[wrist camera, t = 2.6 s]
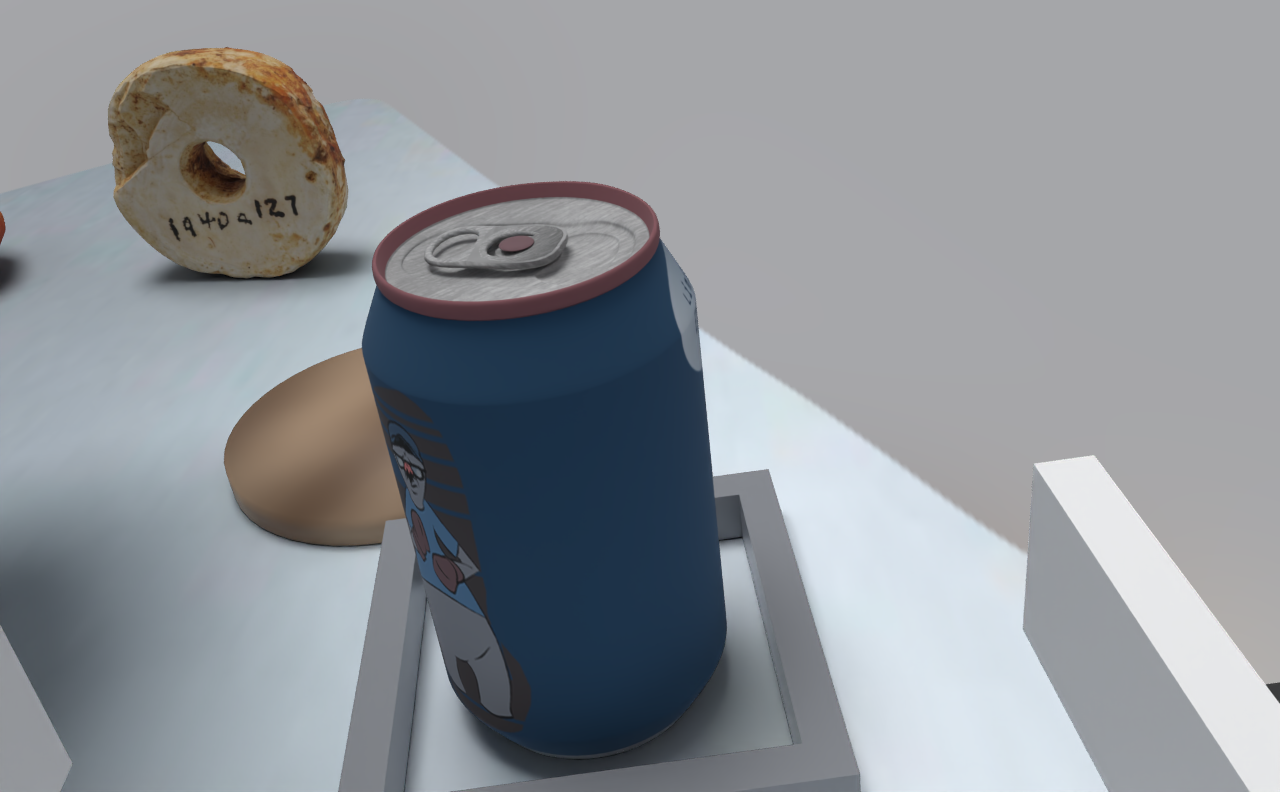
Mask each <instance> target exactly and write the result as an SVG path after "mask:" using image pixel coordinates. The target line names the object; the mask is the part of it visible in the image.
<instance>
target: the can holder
mask: <svg viewBox="0 0 1280 792" xmlns="http://www.w3.org/2000/svg"><path fill="white" fill-rule="evenodd" d="M713 485H714V495H715V506H716V516H717V527H718V537H719V540H722V539H729V538H737V537H743V541H744V545H745V549H746V553H747V557H748V561H749V565H750V570H751V574H752V578H753V582H754V586H755V590H756V594H757V598H758V602H759V606H760V610H761V614H762V618H763V622H764V627H765V631H766V635H767V639H768V643H769V647H770V651H771V655H772V659H773V663H774V667H775V671H776V675H777V679H778V684H779V688H780V692H781V696H782V700H783V704H784V708H785V712H786V716H787V720H788V724H789V728H790V732H791V737H792V741H793V745H787V746H780V747H773V748H765V749H758V750H751V751H744V752H736V753H729V754H722V755H714V756H707V757H700V758H693V759H685V760H678V761H671V762H663V763H656V764H649V765H642V766H634V767H627V768H620V769H613V770H605V771H598V772H591V773H583V774H576V775H569V776H562V777H554V778H547V779H540V780H532V781H525V782H518V783H511V784H503V785H496V786H489V787H481V788H474V789H467V790H460V791H452V792H860V773H859V769H858V766H857V763H856V759H855V756H854V753H853V749H852V746H851V743H850V739H849V736H848V733H847V729H846V726H845V723H844V719H843V716H842V713H841V709H840V706H839V703H838V699H837V696H836V693H835V689H834V686H833V683H832V679H831V676H830V673H829V669H828V666H827V663H826V659H825V656H824V653H823V649H822V646H821V643H820V639H819V636H818V633H817V629H816V626H815V623H814V619H813V616H812V613H811V609H810V606H809V603H808V599H807V596H806V593H805V589H804V586H803V583H802V579H801V576H800V573H799V569H798V566H797V563H796V559H795V556H794V553H793V549H792V546H791V543H790V539H789V536H788V533H787V529H786V526H785V523H784V519H783V516H782V513H781V509H780V506H779V503H778V499H777V496H776V493H775V489H774V486H773V483H772V479H771V476H770V473H769V469H766V470H759V471H751V472H744V473H737V474H729V475H722V476H714V477H713ZM426 598H427V595H426V592H425V588H424V584H423V580H422V577H421V573H420V569H419V565H418V561H417V558H416V554H415V550H414V546H413V543H412V539H411V535H410V531H409V527H408V524H407V520H406V518H403V519H396V520H388V521H386V523H385V528H384V534H383V540H382V545H381V551H380V557H379V562H378V568H377V574H376V580H375V585H374V591H373V597H372V602H371V608H370V614H369V619H368V625H367V631H366V636H365V642H364V648H363V654H362V659H361V665H360V671H359V676H358V682H357V688H356V693H355V699H354V705H353V711H352V716H351V722H350V728H349V733H348V739H347V745H346V750H345V756H344V762H343V767H342V773H341V779H340V785H339V790H338V792H404V787H405V779H406V770H407V762H408V753H409V744H410V736H411V727H412V719H413V710H414V701H415V693H416V684H417V676H418V667H419V658H420V650H421V641H422V633H423V624H424V615H425V607H426Z"/></svg>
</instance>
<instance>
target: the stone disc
mask: <svg viewBox="0 0 1280 792" xmlns="http://www.w3.org/2000/svg"><path fill="white" fill-rule="evenodd" d="M108 126H109V135H110V137H111V139H112V141H113V142H114V150H113V152H112V155H113V166H114V168H115V181H116V187H115V190H114V196H113V197H114V199H115V202H116V205H117V207H118V209H119V210H120V212H121V213H122V215H123V216H124V217H125V219H126V220H127V221H128V223H129V224H130V225H131V226H132V227H133V228H134V229H135V230H136V232H137V233H138V234H139V235H140V236H141V237H142V238H143V239H144V240H145V241H146V242H147V243H149V244H150V245H151V246H152V247H153V248H154V249H156V250H157V251H158V252H159V253H161V254H162V255H164V256H165V257H167V258H168V259H170V260H172V261H173V262H175V263H177V264H178V265H181V266H183V267H186V268H188V269H191V270H195V271H198V272H205V273H210V274H225V275H228V276H231V277H235V278H251V277H254V276H258V277H276V276H281V275H284V274H287V273H291V272H294V271H296V270H297V269H298V268H299V267H302V266H304V265H305V264H307V263H308V262H310V261H311V260H312V259H313V258H314V257H315V256H316V255H317V254H318V253H319V252H320V251H321V250H322V249H323V248H324V247H325V246H326V245H327V243H328V242H329V240H330V239H331V238H332V237H333V235H334V234H335V232H336V230H337V228H338V226H339V223H340V221H341V219H342V217H343V215H344V212H345V210H346V208H347V199H348V186H347V179H346V175H345V168H344V162H345V159H344V158H343V156H342V154H341V151H340V149H339V146H338V144H337V141H336V137H335V134H334V131H333V128H332V126H331V124H330V121H329V119H328V116H327V114H326V112H325V110H324V107H323V106H322V105H321V103H320V102H318V101H317V100H316V99H315V97H314V95H313V93H312V89H311V88H310V87H309V86H308V85H307V83H306V82H304V81H303V79H301V78H300V77H299V76H298V75H296V74H295V72H294V71H293V69H292V68H291V67H289V66H287V65H286V64H284V63H282V62H281V61H279V60H277V59H275V58H273V57H270V56H268V55H265V54H262V53H258V52H254V51H248V50H242V49H232V48H228V47H226V48H220V49H219V48H209V49H208V48H204V49H191V50H182V51H175V52H169V53H166V54H163V55H160V56H158V57H156V58H154V59H152V60H149V61H147V62H145V63H143V64H142V65H140V66H139V67H138V68H136V69H135V70H134V71H133V72H131V73H130V74H129V75H128V76H127V77H126V78H125V79H124V80H123V81H122V82H121V84H119V86H118V87H117V89H116V90H115V92H114V95H113V97H112V99H111V102H110V104H109V108H108ZM207 141H212V142H215V143H219V144H222V145H223V146H225V147H227V148H228V149H230V150H231V151H232V152H233V153H234V154H235V155H236V156H237V157H238V158H239V159H240V160H241V163H242V165H243V168H244V171H245V175H244V174H242V173H240V172H238V171H236V170H234V169H231V168H230V167H229V165H227V164H225V163H224V162H223V161H222V160H221V159H220V158H219V157H218V156H217V155H216V154H215V153H214V152H213V150H212V149H211V147H210V146H209V145H208V144H207Z"/></svg>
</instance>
